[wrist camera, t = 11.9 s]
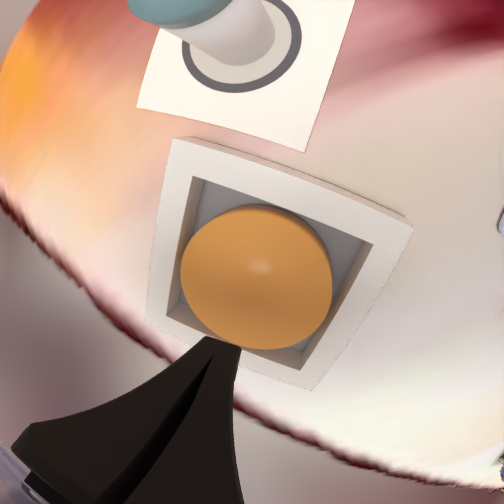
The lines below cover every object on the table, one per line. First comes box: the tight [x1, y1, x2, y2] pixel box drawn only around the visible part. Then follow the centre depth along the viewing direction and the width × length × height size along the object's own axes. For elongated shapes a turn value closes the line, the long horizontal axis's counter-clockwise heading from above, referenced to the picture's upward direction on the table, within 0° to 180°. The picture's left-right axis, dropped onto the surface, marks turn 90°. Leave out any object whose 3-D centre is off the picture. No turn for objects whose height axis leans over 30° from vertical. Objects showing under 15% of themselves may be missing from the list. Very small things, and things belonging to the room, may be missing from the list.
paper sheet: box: [136, 0, 355, 153], centre depth 11 cm, size 10×10×1 cm
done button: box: [180, 205, 332, 350], centre depth 15 cm, size 8×8×2 cm
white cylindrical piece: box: [127, 0, 275, 66], centre depth 8 cm, size 4×4×7 cm
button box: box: [145, 137, 414, 391], centre depth 15 cm, size 12×12×2 cm
